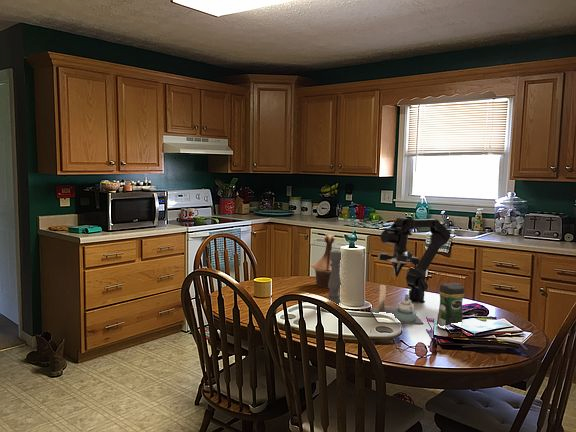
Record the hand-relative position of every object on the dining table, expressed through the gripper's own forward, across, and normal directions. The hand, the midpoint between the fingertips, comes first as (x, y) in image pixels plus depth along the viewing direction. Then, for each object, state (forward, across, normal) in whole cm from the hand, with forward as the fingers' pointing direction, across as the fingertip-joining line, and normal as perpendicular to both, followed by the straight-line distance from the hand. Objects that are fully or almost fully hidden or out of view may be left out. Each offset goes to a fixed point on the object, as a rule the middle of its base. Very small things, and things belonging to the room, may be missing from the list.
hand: (396, 276), depth 233 cm
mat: (+14, -3, -21) cm, 25 cm away
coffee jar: (+13, +17, -33) cm, 39 cm away
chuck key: (+11, -4, -25) cm, 27 cm away
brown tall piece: (+14, -30, +28) cm, 44 cm away
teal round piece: (+14, 0, -26) cm, 29 cm away
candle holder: (+16, -28, -7) cm, 33 cm away
